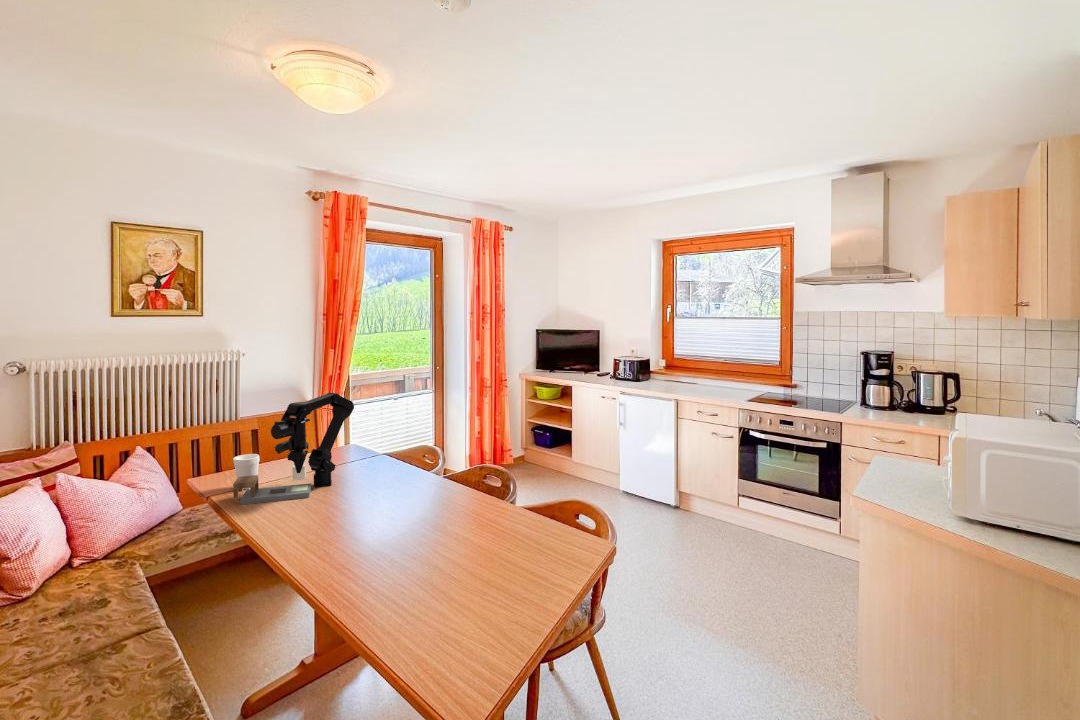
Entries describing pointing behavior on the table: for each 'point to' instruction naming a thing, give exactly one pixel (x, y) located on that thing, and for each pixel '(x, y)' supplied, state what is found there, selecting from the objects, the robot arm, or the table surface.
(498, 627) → the table surface
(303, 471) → the block
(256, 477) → the slide cover
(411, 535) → the table surface
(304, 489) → the board
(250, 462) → the foam cup
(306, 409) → the robot arm
